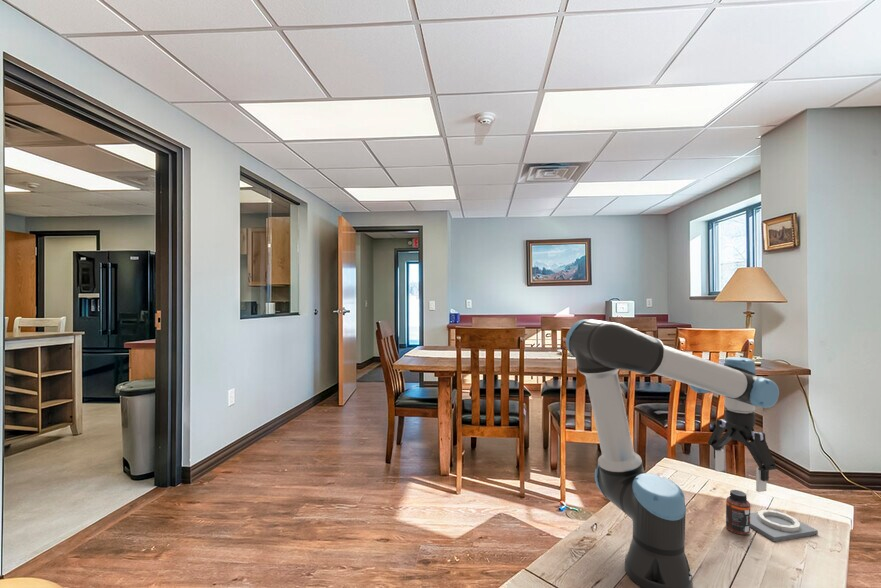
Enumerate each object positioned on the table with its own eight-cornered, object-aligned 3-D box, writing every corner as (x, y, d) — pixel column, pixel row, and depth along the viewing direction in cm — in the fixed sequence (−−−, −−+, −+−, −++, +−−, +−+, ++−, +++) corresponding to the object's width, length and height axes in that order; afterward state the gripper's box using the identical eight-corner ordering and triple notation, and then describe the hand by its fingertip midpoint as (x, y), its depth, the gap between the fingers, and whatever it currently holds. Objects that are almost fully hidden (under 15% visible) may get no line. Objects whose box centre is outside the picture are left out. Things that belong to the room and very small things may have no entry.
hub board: (774, 541, 121) (774, 533, 121) (736, 519, 133) (736, 511, 133) (817, 534, 125) (817, 526, 125) (777, 513, 136) (777, 505, 136)
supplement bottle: (754, 537, 123) (754, 498, 123) (731, 534, 125) (731, 496, 124) (743, 525, 129) (744, 489, 129) (722, 523, 130) (722, 487, 130)
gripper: (792, 421, 115) (792, 499, 115) (714, 398, 139) (714, 462, 140) (770, 423, 113) (770, 502, 114) (695, 399, 138) (695, 464, 138)
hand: (739, 480), depth 127 cm, fingers open, 13 cm apart
